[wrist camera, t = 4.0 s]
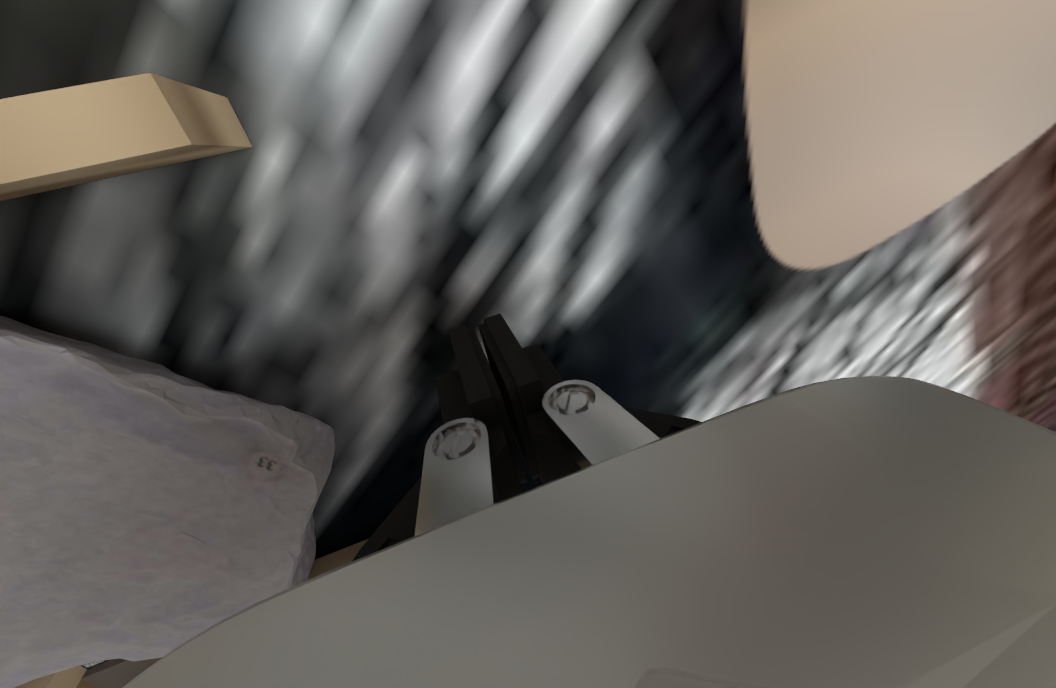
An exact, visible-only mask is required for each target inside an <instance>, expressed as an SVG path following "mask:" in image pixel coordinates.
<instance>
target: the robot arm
mask: <svg viewBox="0 0 1056 688" xmlns="http://www.w3.org/2000/svg"><path fill="white" fill-rule="evenodd" d="M478 326H479V330H480V333H481V337H482V340H483V344H484V347H485V350H486V354H487V357H488V361H489V363H488V361H487V359H486V356H485V354H484V351H483V349H482V347H481V344H480V342H479V340H478V337H477V335H476V332H475V330H474V328H473V327H471V328H468V329H467V328H466V326H465V325H462V326H459V327H456V328H452V329H449V330H448V331H449V335H450V339H451V342H452V346H453V350H454V353H455V357H456V361H457V364H458V368H459V369H458V370H455V371H452V372H448V373H445V374H442V375H439V376H436V383H437V389H438V395H439V402H440V408H441V414H442V421H443V426H441V427H439V428H438V429H437V430H436V431H435V432H434V433H433V434H432V435H431V436H430V438H429V439H428V441H427V444H426V447H425V454H424V462H423V470H422V476H421V478H420V479H419V480H418V481H417V482H416V483H415V485H414V486H413V487H412V488H411V489H410V491H409V492H408V493H407V494H406V495H405V496H404V498H403V499H402V500H401V501H400V502H399V504H398V505H397V506H396V507H395V508H394V510H393V511H392V512H391V513H390V514H389V515H388V517H387V518H386V519H385V520H384V521H383V523H382V524H381V525H380V526H379V527H378V528H377V530H376V531H375V532H374V533H373V534H372V536H371V537H370V538H369V539H368V540H367V541H366V543H365V544H364V545H363V546H362V547H361V549H360V550H359V551H358V553H357V554H356V556H355V557H354V559H353V560H352V562H350V563H347V564H345V565H343V566H340V567H338V568H335V569H333V570H330V571H328V572H325V573H323V574H321V575H318V576H316V577H314V578H312V579H309V580H307V581H305V582H302V583H300V584H298V585H296V586H293V587H291V588H289V589H286V590H284V591H282V592H280V593H277V594H275V595H273V596H271V597H268V598H266V599H264V600H261V601H259V602H257V603H255V604H253V605H251V606H249V607H247V608H245V609H243V610H241V611H239V612H237V613H235V614H233V615H231V616H229V617H227V618H225V619H223V620H221V621H219V622H218V623H216V624H214V625H213V626H211V627H209V628H208V629H206V630H204V631H203V632H201V633H199V634H198V635H196V636H194V637H193V638H191V639H189V640H188V641H186V642H185V643H183V644H181V645H180V646H178V647H177V648H175V649H174V650H172V651H171V652H170V653H168V654H167V655H165V656H164V657H163V658H161V659H160V660H158V661H157V662H156V663H154V664H153V665H152V666H150V667H149V668H147V669H146V670H145V671H143V672H142V673H140V674H139V675H138V676H136V677H135V678H134V679H133V680H131V681H130V682H129V683H128V684H126V685H125V686H124V687H123V688H1056V432H1054V431H1051V430H1049V429H1047V428H1044V427H1042V426H1040V425H1037V424H1035V423H1032V422H1030V421H1028V420H1025V419H1023V418H1020V417H1018V416H1016V415H1013V414H1011V413H1008V412H1006V411H1004V410H1001V409H999V408H996V407H993V406H991V405H988V404H986V403H983V402H981V401H978V400H976V399H973V398H971V397H968V396H965V395H963V394H960V393H957V392H954V391H951V390H948V389H946V388H943V387H940V386H937V385H934V384H931V383H927V382H924V381H920V380H916V379H911V378H904V377H891V376H865V377H851V378H841V379H835V380H829V381H824V382H818V383H813V384H809V385H805V386H802V387H798V388H794V389H790V390H788V391H785V392H782V393H779V394H776V395H773V396H771V397H768V398H765V399H762V400H759V401H756V402H754V403H751V404H748V405H745V406H742V407H740V408H737V409H735V410H732V411H730V412H727V413H724V414H722V415H719V416H717V417H714V418H711V419H709V420H706V421H704V422H700V421H696V420H693V419H688V418H682V417H677V416H671V415H665V414H660V413H654V412H648V411H643V410H637V409H631V408H626V407H621V406H620V405H619V404H618V403H616V402H615V401H614V400H613V399H612V398H610V397H609V396H608V395H607V394H606V393H604V392H603V391H602V390H601V389H600V388H598V387H597V386H596V385H594V384H592V383H590V382H587V381H583V380H570V381H564V379H563V378H562V377H561V375H560V374H559V373H558V371H557V370H556V368H555V367H554V366H553V364H552V363H551V361H550V360H549V359H548V357H547V356H546V355H545V353H544V352H543V350H542V349H541V348H540V346H539V345H538V344H534V345H531V346H528V347H524V348H521V346H520V345H519V343H518V341H517V340H516V338H515V337H514V335H513V333H512V332H511V330H510V329H509V327H508V325H507V324H506V322H505V320H504V319H503V317H502V316H501V314H498V315H494V316H491V317H488V318H485V319H484V324H481V325H478ZM489 364H490V366H489ZM490 367H491V368H490ZM511 428H512V429H511ZM512 430H513V432H512ZM513 433H514V435H515V438H516V440H517V443H518V445H519V448H520V450H521V452H522V455H523V457H524V460H525V462H526V465H527V467H528V470H529V472H530V475H531V477H532V479H534V478H537V477H540V479H541V482H542V484H543V485H541V486H539V487H536V488H534V489H531V490H529V491H526V492H524V493H523V492H522V489H521V485H520V484H522V483H524V482H527V481H526V477H525V474H524V470H523V467H522V463H521V460H520V457H519V453H518V450H517V446H516V443H515V439H514V436H513Z"/></svg>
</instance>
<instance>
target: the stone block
mask: <svg viewBox="0 0 1056 688" xmlns="http://www.w3.org/2000/svg"><path fill="white" fill-rule="evenodd" d="M334 454H335V435H334V429H333V428H332V427H330V426H329V425H327V424H325V423H323V422H322V421H320V420H318V419H316V418H314V417H312V416H310V415H307V414H305V413H302V412H297V411H293V410H291V409H288V408H286V407H284V406H282V405H273V404H266V403H264V402H262V401H259V400H257V399H251V398H249V397H246V396H244V395H241V394H238V393H235V392H229V391H221V390H216V389H213V388H211V387H208V386H206V385H204V384H202V383H200V382H197V381H194V380H192V379H189V378H186V377H184V376H180V375H178V374H176V373H174V372H173V371H171V370H169V369H168V368H166V367H165V366H163V365H161V364H157V363H153V362H150V361H146V360H142V359H138V358H133V357H129V356H126V355H123V354H119V353H116V352H113V351H111V350H108V349H105V348H102V347H100V346H97V345H95V344H92V343H88V342H84V341H79V340H75V339H72V338H69V337H63V336H60V335H56V334H53V333H50V332H46V331H43V330H40V329H37V328H34V327H31V326H28V325H26V324H23V323H20V322H18V321H15V320H13V319H10V318H7V317H4V316H0V688H14V687H17V686H19V685H22V684H24V683H27V682H29V681H32V680H34V679H37V678H40V677H43V676H47V675H50V674H53V673H56V672H59V671H63V670H66V669H69V668H72V667H76V666H80V665H85V664H89V663H93V662H98V661H102V660H111V659H119V658H121V659H125V660H129V661H133V662H134V661H140V660H147V659H154V658H161V657H164V656H165V655H167V654H168V653H170V652H171V651H172V650H174V649H175V648H177V647H178V646H180V645H181V644H183V643H185V642H186V641H188V640H189V639H191V638H193V637H194V636H196V635H198V634H199V633H201V632H203V631H204V630H206V629H208V628H209V627H211V626H213V625H214V624H216V623H218V622H219V621H221V620H223V619H225V618H227V617H229V616H231V615H233V614H235V613H237V612H239V611H241V610H243V609H245V608H247V607H249V606H251V605H253V604H255V603H257V602H259V601H261V600H264V599H266V598H268V597H271V596H273V595H275V594H277V593H280V592H282V591H284V590H286V589H289V588H291V587H293V586H296V585H298V584H300V583H302V582H305V581H307V580H308V577H309V574H310V571H311V568H312V565H313V562H314V559H315V556H316V535H315V532H314V527H315V522H314V518H313V510H314V507H315V505H316V503H317V500H318V498H319V496H320V494H321V491H322V489H323V487H324V485H325V483H326V481H327V479H328V476H329V474H330V472H331V467H332V462H333V458H334Z"/></svg>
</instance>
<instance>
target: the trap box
mask: <svg viewBox="0 0 1056 688" xmlns="http://www.w3.org/2000/svg"><path fill="white" fill-rule="evenodd" d="M251 147H252V145H251V143H250V141H249V139H248V137H247V136H246V134H245V132H244V130H243V128H242V126H241V124H240V122H239V120H238V118H237V116H236V114H235V112H234V110H233V108H232V106H231V104H230V102H229V100H228V98H227V97H224V96H221V95H217V94H214V93H211V92H208V91H205V90H202V89H199V88H196V87H193V86H190V85H186V84H183V83H180V82H177V81H174V80H171V79H168V78H165V77H162V76H159V75H155V74H152V73H146V74H140V75H134V76H129V77H123V78H117V79H112V80H106V81H100V82H95V83H89V84H83V85H78V86H72V87H66V88H61V89H55V90H49V91H44V92H38V93H33V94H27V95H21V96H16V97H10V98H4V99H0V201H4V200H8V199H13V198H18V197H22V196H27V195H32V194H36V193H41V192H46V191H50V190H55V189H60V188H64V187H69V186H74V185H78V184H83V183H88V182H92V181H97V180H102V179H106V178H111V177H116V176H120V175H125V174H130V173H134V172H139V171H143V170H148V169H153V168H157V167H162V166H167V165H171V164H176V163H181V162H185V161H190V160H195V159H199V158H204V157H209V156H213V155H218V154H223V153H227V152H232V151H237V150H241V149H246V148H251ZM367 540H368V539H366V540H364V541H361V542H359V543H356V544H354V545H351V546H349V547H346V548H344V549H341V550H339V551H336V552H334V553H331V554H328V555H326V556H323V557H321V558H318V559H316V560H314V562H313V565H312V568H311V571H310V574H309V577H308V580H309V579H312V578H314V577H316V576H318V575H321V574H323V573H325V572H328V571H330V570H333V569H335V568H338V567H340V566H343V565H345V564H347V563H350V562H352V560H353V559H354V557H355V556H356V554H357V553H358V551H359V550H360V549H361V547H362V546H363V545H364V544H365V543H366V541H367ZM161 658H163V657H161ZM161 658H154V659H147V660H140V661H134V662H133V661H129V660H125V659H121V658H119V659H111V660H109V661H106V662H104V663H102V664H99V665H97V666H94V667H92V668H89V669H86V668H84V667H82V666H76V667H72V668H69V669H66V670H63V671H59V672H56V673H53V674H50V675H47V676H43V677H40V678H37V679H34V680H32V681H29V682H27V683H24V684H22V685H19V686H17V687H14V688H123V687H124V686H125V685H126V684H128V683H129V682H130V681H131V680H133V679H134V678H135V677H136V676H138V675H139V674H140V673H142V672H143V671H145V670H146V669H147V668H149V667H150V666H152V665H153V664H154V663H156V662H157V661H158V660H160V659H161Z"/></svg>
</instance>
